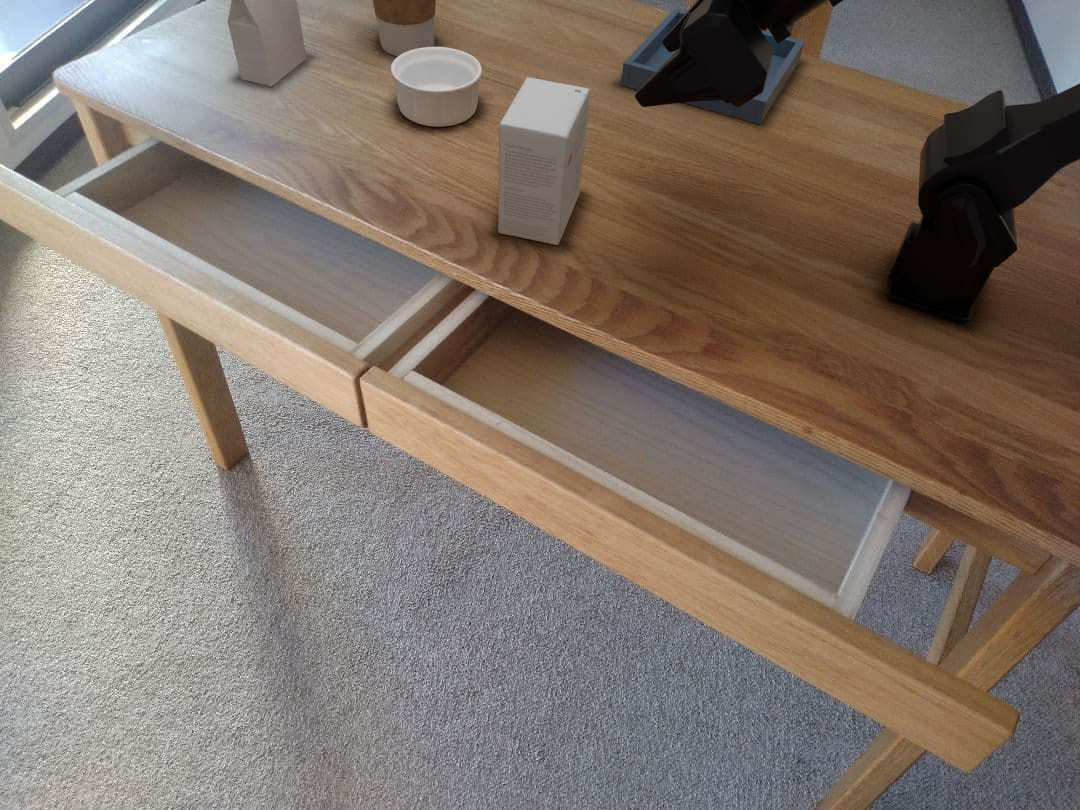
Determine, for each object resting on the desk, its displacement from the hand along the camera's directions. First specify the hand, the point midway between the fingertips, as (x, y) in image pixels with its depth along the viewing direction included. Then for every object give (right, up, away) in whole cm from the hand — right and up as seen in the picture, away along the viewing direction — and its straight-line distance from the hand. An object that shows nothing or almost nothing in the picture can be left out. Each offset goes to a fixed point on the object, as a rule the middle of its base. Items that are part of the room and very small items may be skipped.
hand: (652, 72), depth 64 cm
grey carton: (-37, +10, +25) cm, 46 cm away
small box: (-9, -9, +10) cm, 16 cm away
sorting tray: (+10, +11, +29) cm, 33 cm away
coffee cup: (-23, +15, +30) cm, 41 cm away
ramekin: (-19, +5, +21) cm, 29 cm away
